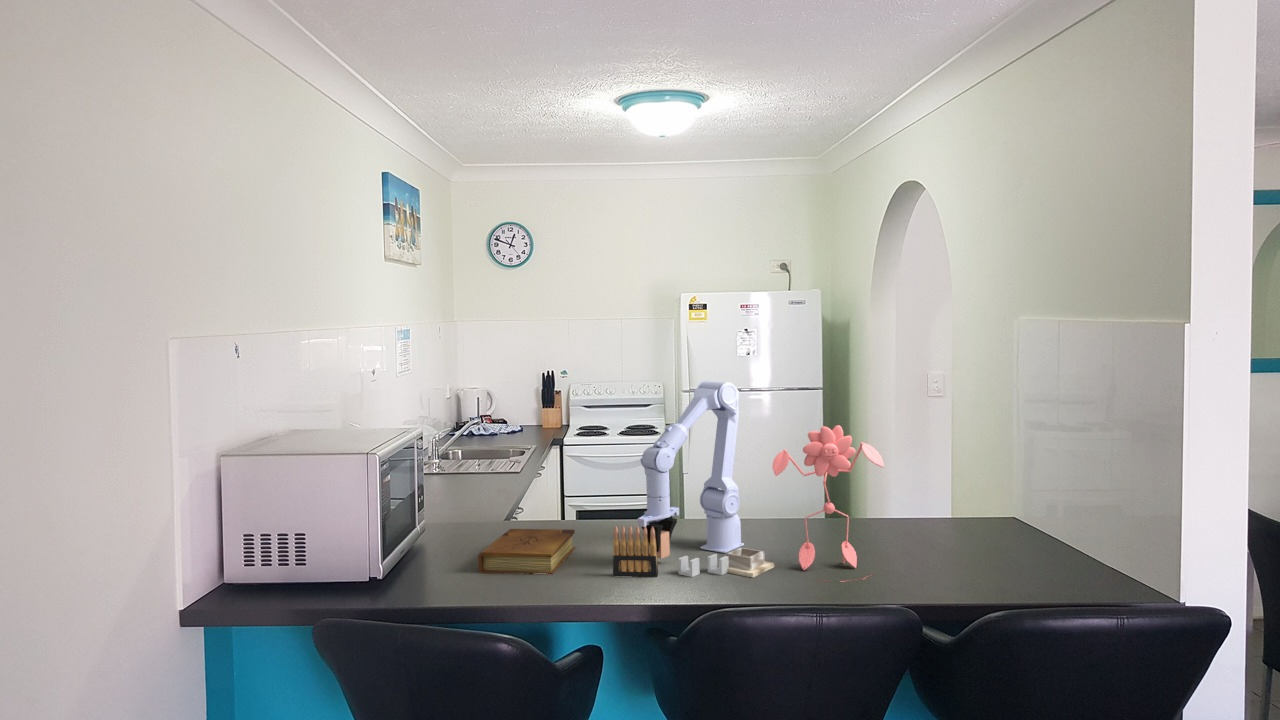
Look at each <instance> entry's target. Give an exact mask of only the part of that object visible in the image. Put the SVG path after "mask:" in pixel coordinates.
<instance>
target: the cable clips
mask: <svg viewBox="0 0 1280 720" xmlns="http://www.w3.org/2000/svg"><path fill="white" fill-rule="evenodd" d="M677 561H678V563H677V564H678V566H677V567H678V575H682V576H685V577H690V578H694V577H696V576H698V575H700V574H701V573H700V571H701V570H700V558H699V557H695V558H692V559H690V560H689V555H684V556H681V557H678V560H677ZM717 566H719V568H718V567H717ZM728 568H729V561H728V556H726V555H725V556H723V557H720V558H718V554H717V553H714V554H711V555H709V556H707V573H709V574H714V575H717V576H718V575H719V576H723V575H725V574H729V573H728Z"/></svg>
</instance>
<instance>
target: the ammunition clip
mask: <svg viewBox="0 0 1280 720" xmlns="http://www.w3.org/2000/svg"><path fill="white" fill-rule="evenodd" d="M625 528H626V527H625V526H624V525H623V526H622V527H621V531H620V532H621V533H620V536H619V530H618V527H617V525H615V527H614V529H613V543H612V546H613V547H612V548H613V549H612V551H613V554H612V555H613V556H612V562H613V563H612V577H614V576H632V577H631V578H658V576H659V567H658V558H657V548H656V539H655V531H654V527H653V526H652V528H651V532H650V546H649V542H648V533H647V529H646V526H645V527H644V530H643V529H642V538H641V531H640V526H638V525H637V526H636V529H635V539H634V532H633V528H632V526H631V525H630V526H629V528H628V531H627V532H626V529H625ZM626 533H627V534H626ZM627 536H628V537H627ZM641 539H642V541H641ZM634 540H635V541H634Z"/></svg>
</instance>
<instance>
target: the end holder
mask: <svg viewBox="0 0 1280 720" xmlns="http://www.w3.org/2000/svg"><path fill="white" fill-rule="evenodd" d="M725 556H728V561H729V568H728V573H727V574H732V575H737V576H743V577H748V578H755V577H758V576H759V575H761V574H764V573H765V572H767V571H769V570H771V569H773V568H775V562H770V561H766V559H765V558H766V557H765V556H766V554H765V550H758V549H752V548H747V547H742V546H741V547H738V548H736V549H734V550H731V551H729V552H727V553H725ZM717 567H718V568H719V565H717Z"/></svg>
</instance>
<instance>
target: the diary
mask: <svg viewBox="0 0 1280 720" xmlns="http://www.w3.org/2000/svg"><path fill="white" fill-rule="evenodd" d="M575 533H576V532H575V529H558V528H557V529H556V528H555V529H553V528H549V529H547V528H545V529H544V528H541V529H540V528H509V530H507V531H506V532H504V533H503V534H502V535H501V536H499V537H498V538H497V539H496V540H495V541H493V542H492V543H491V544H490V545H489V546H487V547H486V548H484V550H482V551H481V552H480V553H479V554H478V556H477V559H478V560H477V561H478V572H479V573H480V574H504V573H546V574H547V573H548V574H553V573H554V572H555V573H556V571H557V570H558V569H559V568H560V567H561V566H562V565H561V564H563V563H564V562H565V561H566V560H567V559H568V558H567V556H568V555H569V554H570V553H571V552H572V551H573V550H575V549H576V546H573V536H574V534H575ZM574 548H575V549H574ZM573 552H574V551H573ZM573 552H572V553H573ZM572 553H571V554H572ZM571 554H570V555H571ZM570 555H569V556H570ZM569 556H568V557H569ZM566 558H567V559H566ZM565 559H566V560H565ZM564 560H565V561H564ZM563 561H564V562H563ZM562 562H563V563H562ZM560 565H561V566H560ZM559 566H560V567H559ZM558 567H559V568H558ZM557 568H558V569H557ZM556 569H557V570H556ZM555 570H556V571H555ZM555 573H554V574H555ZM554 574H553V575H554Z"/></svg>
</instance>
